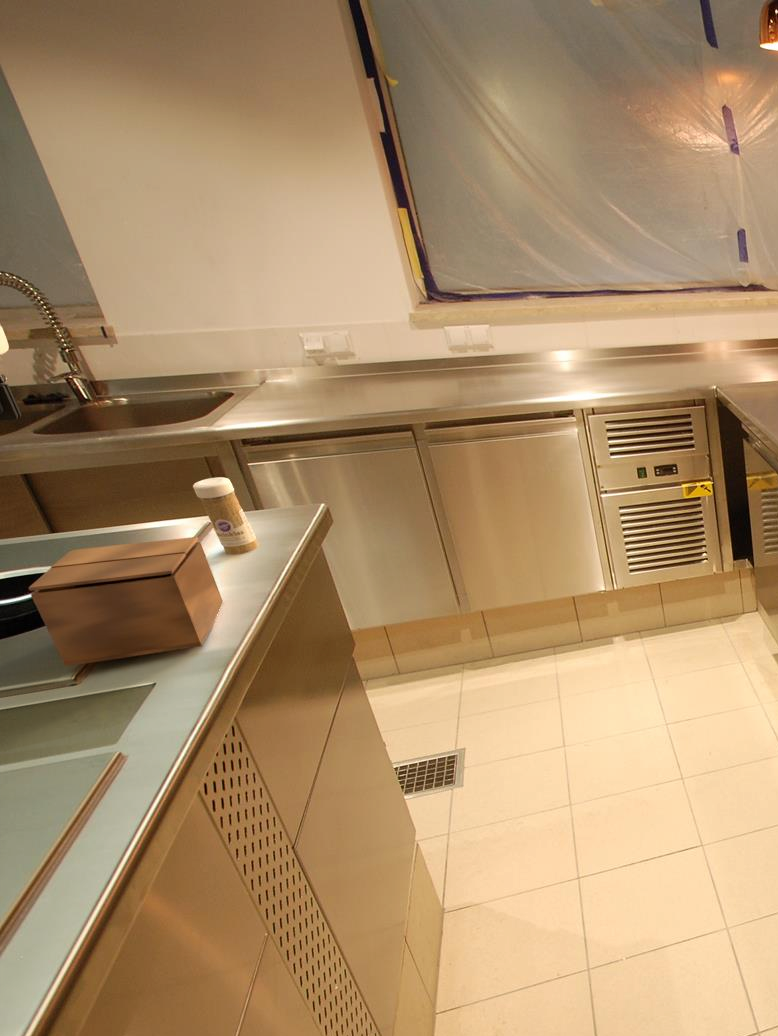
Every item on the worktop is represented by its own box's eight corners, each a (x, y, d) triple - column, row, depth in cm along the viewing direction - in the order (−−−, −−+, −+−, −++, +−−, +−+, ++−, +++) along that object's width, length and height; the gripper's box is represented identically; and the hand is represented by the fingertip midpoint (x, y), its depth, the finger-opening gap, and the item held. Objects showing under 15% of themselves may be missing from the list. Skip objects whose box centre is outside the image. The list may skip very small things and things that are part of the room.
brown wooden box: (65, 666, 102) (27, 588, 97) (103, 621, 113) (70, 549, 109) (202, 645, 108) (171, 570, 103) (224, 605, 119) (198, 536, 115)
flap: (52, 569, 103) (50, 566, 103) (72, 553, 109) (71, 550, 109) (186, 554, 109) (185, 551, 109) (198, 539, 115) (197, 536, 115)
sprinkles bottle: (229, 569, 133) (189, 488, 126) (232, 558, 136) (193, 479, 129) (264, 562, 135) (227, 483, 128) (267, 552, 138) (230, 474, 131)
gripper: (-89, 252, 98) (-16, 411, 106) (-160, 254, 86) (-71, 433, 94) (-1, 253, 102) (64, 407, 109) (-57, 255, 90) (21, 428, 98)
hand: (2, 419), depth 102 cm, fingers closed
